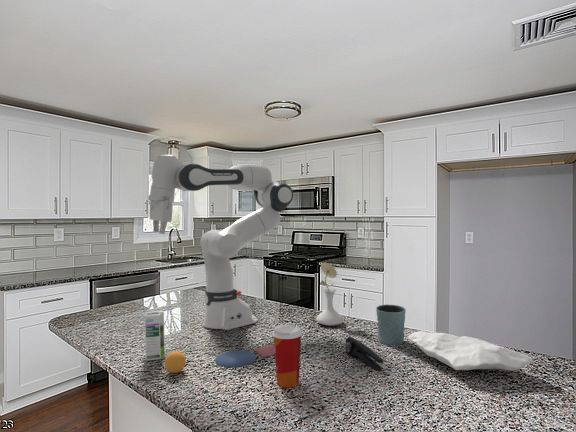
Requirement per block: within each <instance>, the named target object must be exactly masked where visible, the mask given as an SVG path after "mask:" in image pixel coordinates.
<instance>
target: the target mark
mask: <svg viewBox="0 0 576 432" xmlns="http://www.w3.org/2000/svg"><path fill="white" fill-rule="evenodd" d="M256 360H257V355H256V354H255V353H254V352H252V351H250V350H249V351H248V350H244V349H243V350H242V349H235V350H234V349H233V350H228V351H225V352H221V353H220V354H218V355H216V357H215V359H214V361H215V363H216V364H217V365H218V366H221V367H226V368H237V367H240V368H241V367H245V366H248V365H251V364H252V363H253V362H255V361H256Z"/></svg>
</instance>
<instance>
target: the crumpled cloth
mask: <svg viewBox="0 0 576 432" xmlns="http://www.w3.org/2000/svg"><path fill="white" fill-rule="evenodd" d="M406 339H407V340H409V341H410V343H413V344H414V345H416V346H417V347H418V348H419V349H420V350H421V351H423V353H424V354H425V355H427V356H428V357H431V358H433V359H436V360H437V361H439V362H441V363H443V364H445V365H447V366H448V367H450V368H452V369H453V370H455V371H471V370H493V369H495V370H496V369H497V370H503V371H512V372H513V371H518V370H520V369H522V368H524V367H526V366H527V365H529V364H531V363H533V358H532V357H530V356H528V355H527V354H524V353H522V352H519V351H515V350H512V349H509V348H506V347H502V346H500V345H497V344H493V343H491V342H488V341H487V340H483V339H480V338H476V337H471V336H466V335H464V336H457V335H454V334H450V333H444V332H429V331H421V330H419V331H416V332H412V333H410V334H408V335H407V336H406Z"/></svg>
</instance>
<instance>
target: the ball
mask: <svg viewBox="0 0 576 432" xmlns="http://www.w3.org/2000/svg"><path fill="white" fill-rule="evenodd" d="M186 363H187V360H186V356H185V354H184V353H182V352H180V351H178V350H175V351H172V352H170V353H168V354H167V355H166V357H165V358H164V366H165V370H166V371H168V372H169V373H170V374H177V373H180V372H181V371H182V370H184V368H185V366H186Z"/></svg>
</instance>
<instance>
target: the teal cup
mask: <svg viewBox="0 0 576 432" xmlns="http://www.w3.org/2000/svg"><path fill="white" fill-rule="evenodd" d="M375 309H376V316H377V317H376V318H377V319H376V320H377V334H378V335H377V336H378V341H379V343H380V344H382V345H385V346H391V347H394V346H395V347H396V346H401V345H403V344H404V337H405V333H404V331H405V322H406V308H405V307H404V306H402V305H397V304H379V305H378V306H376V308H375Z"/></svg>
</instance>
